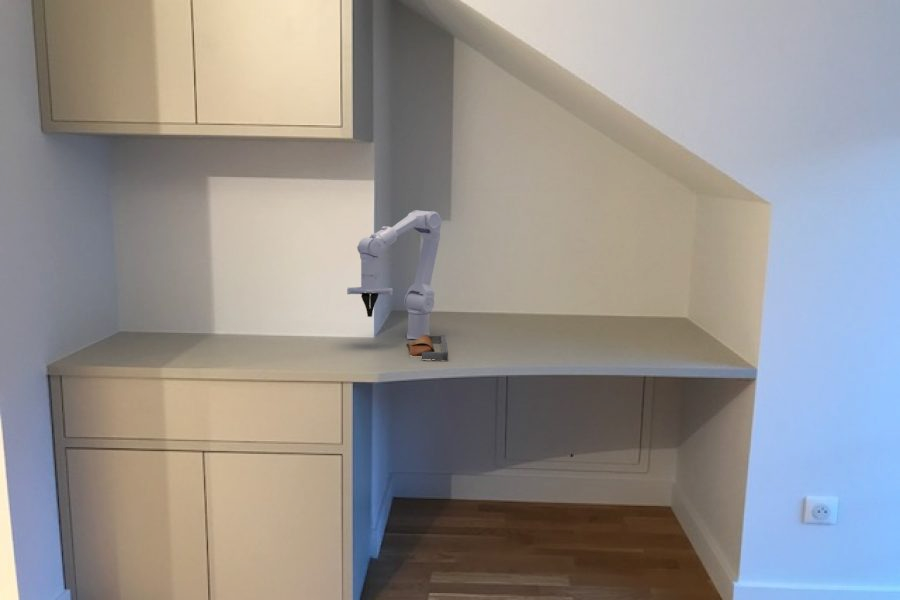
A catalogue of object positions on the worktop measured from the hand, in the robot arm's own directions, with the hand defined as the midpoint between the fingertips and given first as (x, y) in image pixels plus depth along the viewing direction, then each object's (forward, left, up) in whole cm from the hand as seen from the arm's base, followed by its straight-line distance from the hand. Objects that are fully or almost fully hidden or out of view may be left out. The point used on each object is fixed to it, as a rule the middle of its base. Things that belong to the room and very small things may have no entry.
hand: (369, 316), depth 230 cm
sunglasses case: (+4, +17, -11) cm, 20 cm away
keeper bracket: (+4, +21, -10) cm, 24 cm away
